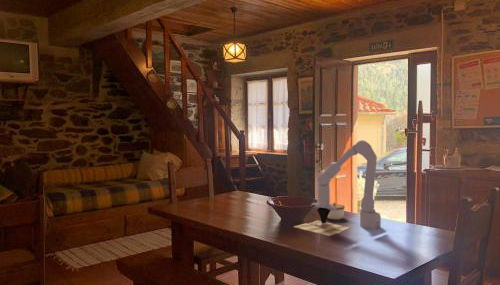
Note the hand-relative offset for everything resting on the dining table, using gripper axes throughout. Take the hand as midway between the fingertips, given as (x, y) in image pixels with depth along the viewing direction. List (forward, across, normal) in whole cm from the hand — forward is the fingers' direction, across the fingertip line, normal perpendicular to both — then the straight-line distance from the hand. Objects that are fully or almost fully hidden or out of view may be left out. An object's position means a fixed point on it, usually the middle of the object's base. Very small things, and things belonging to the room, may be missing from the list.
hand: (323, 222), depth 203 cm
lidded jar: (+2, +3, -14) cm, 14 cm away
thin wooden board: (+1, -5, +12) cm, 13 cm away
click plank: (+1, -5, +3) cm, 6 cm away
